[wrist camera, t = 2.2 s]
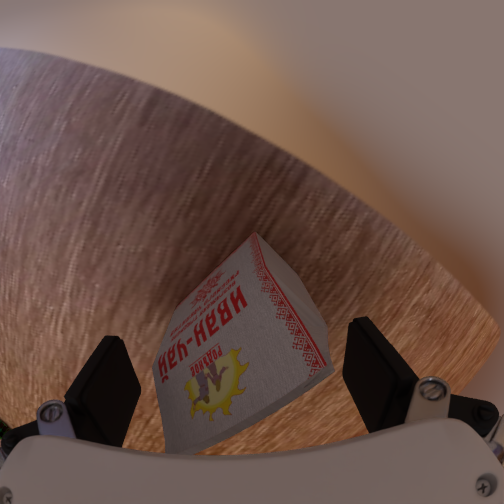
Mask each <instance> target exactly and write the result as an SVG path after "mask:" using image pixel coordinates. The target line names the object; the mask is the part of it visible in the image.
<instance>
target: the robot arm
mask: <svg viewBox="0 0 504 504" xmlns="http://www.w3.org/2000/svg"><path fill="white" fill-rule="evenodd" d="M342 375H343V379H344V381H345V383H346V385H347V388H348V390H349V392H350V394H351V396H352V398H353V400H354V402H355V404H356V406H357V408H358V411H359V413H360V415H361V417H362V419H363V421H364V423H365V425H366V428H367V430H368V432H369V434H366V435H362V436H359V437H355V438H351V439H346V440H342V441H338V442H333V443H329V444H324V445H319V446H313V447H308V448H302V449H295V450H288V451H280V452H271V453H261V454H247V455H219V456H207V455H180V454H166V453H156V452H147V451H139V450H132V449H126V448H122V445H123V442H124V439H125V436H126V433H127V430H128V427H129V424H130V421H131V419H132V416H133V413H134V410H135V407H136V405H137V402H138V399H139V397H140V394H141V386H140V383H139V381H138V378H137V376H136V373H135V371H134V368H133V366H132V363H131V360H130V358H129V355H128V352H127V350H126V347H125V344H124V341H123V340H122V339H120V338H119V337H118V336H105V337H104V338H103V339H102V341H101V342H100V343H99V345H98V346H97V348H96V349H95V351H94V352H93V353H92V355H91V356H90V358H89V359H88V361H87V362H86V364H85V365H84V367H83V368H82V369H81V371H80V372H79V374H78V375H77V377H76V379H75V380H74V382H73V383H72V385H71V386H70V388H69V389H68V391H67V392H66V394H65V396H64V397H65V399H66V400H65V402H64V403H63V402H62V401H60V400H49V401H47V402H45V403H43V404H42V405H41V406H40V407H39V408H38V411H37V420H35V421H33V422H30V423H28V424H25V425H22V426H20V427H17V428H14V429H12V430H9V431H7V432H6V433H5V434H4V435H3V437H2V439H1V447H0V504H504V414H503V415H502V417H500V416H499V412H498V410H497V408H496V406H495V405H494V404H492V403H491V402H488V401H484V400H478V399H473V398H468V397H463V396H458V395H453V394H451V389H450V386H449V384H448V383H447V382H446V381H445V380H443V379H441V378H439V377H435V376H428V377H424V378H422V379H419V378H418V377H417V375H416V374H415V373H414V372H413V370H412V369H411V368H410V367H409V365H408V364H407V363H406V362H405V360H404V359H403V358H402V357H401V355H400V354H399V353H398V352H397V351H396V349H395V348H394V347H393V346H392V345H391V344H390V343H389V342H388V340H387V339H386V338H385V337H384V336H383V334H382V333H381V332H380V331H379V330H378V328H377V327H376V326H375V325H374V324H373V322H372V321H371V320H370V319H369V318H368V317H367V316H365V317H359V318H354V319H353V321H352V322H350V323H349V326H348V334H347V343H346V350H345V357H344V364H343V371H342Z"/></svg>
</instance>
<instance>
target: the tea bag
mask: <svg viewBox="0 0 504 504" xmlns="http://www.w3.org/2000/svg"><path fill="white" fill-rule="evenodd" d="M152 369H153V375H154V381H155V387H156V392H157V398H158V403H159V408H160V413H161V417H162V424H163V431H164V438H165V453H166V454H180V455H193V454H195V453H197V452H200V451H202V450H204V449H206V448H209V447H211V446H213V445H215V444H217V443H219V442H221V441H223V440H225V439H227V438H229V437H231V436H233V435H235V434H237V433H239V432H241V431H243V430H244V429H246V428H248V427H250V426H252V425H254V424H255V423H257V422H259V421H261V420H262V419H264V418H266V417H267V416H269V415H271V414H272V413H274V412H276V411H277V410H279V409H281V408H282V407H284V406H285V405H287V404H289V403H290V402H292V401H293V400H295V399H296V398H298V397H299V396H301V395H302V394H304V393H305V392H307V391H308V390H310V389H311V388H312V387H314V386H315V385H317V384H318V383H320V382H321V381H322V380H324V379H325V378H326V377H328V376H329V375H330V374H332V373H333V372H334V371H335V370H334V367H333V364H332V361H331V358H330V353H329V347H328V328H327V325H326V323H325V321H324V320H323V318H322V316H321V314H320V312H319V311H318V309H317V307H316V305H315V304H314V302H313V300H312V298H311V297H310V295H309V293H308V291H307V290H306V288H305V286H304V285H303V283H302V281H301V279H300V278H299V276H298V274H297V273H296V272H295V271H294V270H293V269H292V268H291V267H290V266H289V265H288V264H287V263H286V262H285V261H284V260H283V259H282V258H281V257H280V256H279V255H278V254H277V253H276V252H275V251H274V250H273V249H272V248H271V247H270V246H269V245H268V244H267V243H266V242H265V241H264V240H263V238H262V237H261V236H260V235H259V234H258V233H257V232H256V231H254V232H253V233H252V234H251V235H250V236H249V237H248V238H247V239H246V240H245V241H244V242H243V243H242V244H241V245H240V246H239V247H238V248H237V249H235V250H234V251H233V252H232V253H231V254H230V255H229V256H228V257H227V258H226V259H225V260H224V261H223V262H222V263H221V264H220V265H219V266H218V267H217V268H216V269H215V270H214V271H213V272H211V273H210V274H209V275H208V276H207V277H206V278H205V279H204V280H203V281H202V282H201V283H200V284H199V285H198V286H197V287H196V288H195V289H194V290H193V291H192V292H191V293H190V294H189V295H188V296H187V297H186V298H185V299H184V300H183V301H182V302H181V303H180V304H178V305H177V306H176V309H175V311H174V313H173V316H172V318H171V321H170V323H169V326H168V328H167V331H166V333H165V336H164V338H163V341H162V343H161V346H160V348H159V351H158V353H157V356H156V359H155V361H154V364H153V366H152Z"/></svg>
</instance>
